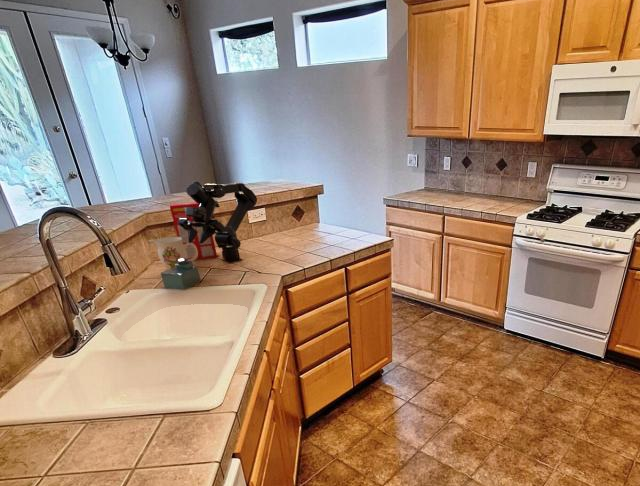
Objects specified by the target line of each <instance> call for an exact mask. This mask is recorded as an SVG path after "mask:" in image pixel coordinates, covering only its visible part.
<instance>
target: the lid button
mask: <svg viewBox="0 0 640 486" xmlns="http://www.w3.org/2000/svg"><path fill="white" fill-rule="evenodd" d="M178 263H179V264H180V265H182V264H188V263H189V262H188V259H187V258H183V259H179V260H178Z"/></svg>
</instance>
